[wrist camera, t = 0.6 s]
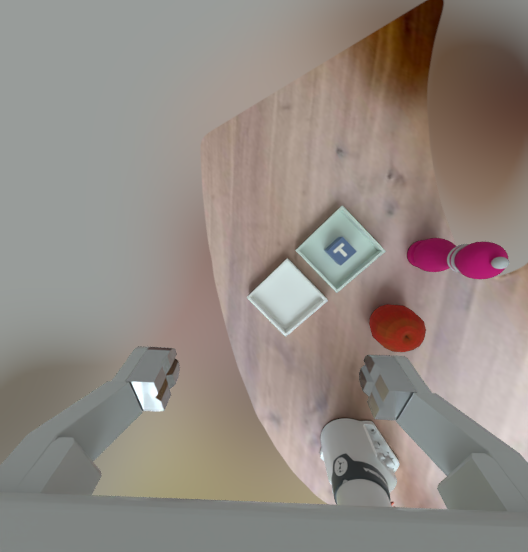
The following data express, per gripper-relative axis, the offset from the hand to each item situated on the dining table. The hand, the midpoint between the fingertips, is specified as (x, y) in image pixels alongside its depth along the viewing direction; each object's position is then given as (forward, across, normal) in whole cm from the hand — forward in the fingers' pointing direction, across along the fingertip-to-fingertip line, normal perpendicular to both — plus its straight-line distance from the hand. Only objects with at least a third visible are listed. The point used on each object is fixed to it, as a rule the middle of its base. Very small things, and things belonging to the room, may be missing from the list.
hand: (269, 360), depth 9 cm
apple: (+36, +30, -27) cm, 54 cm away
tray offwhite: (+40, +6, -24) cm, 47 cm away
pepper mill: (+40, +36, -11) cm, 55 cm away
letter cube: (+42, +17, -11) cm, 46 cm away
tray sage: (+42, +17, -11) cm, 47 cm away
